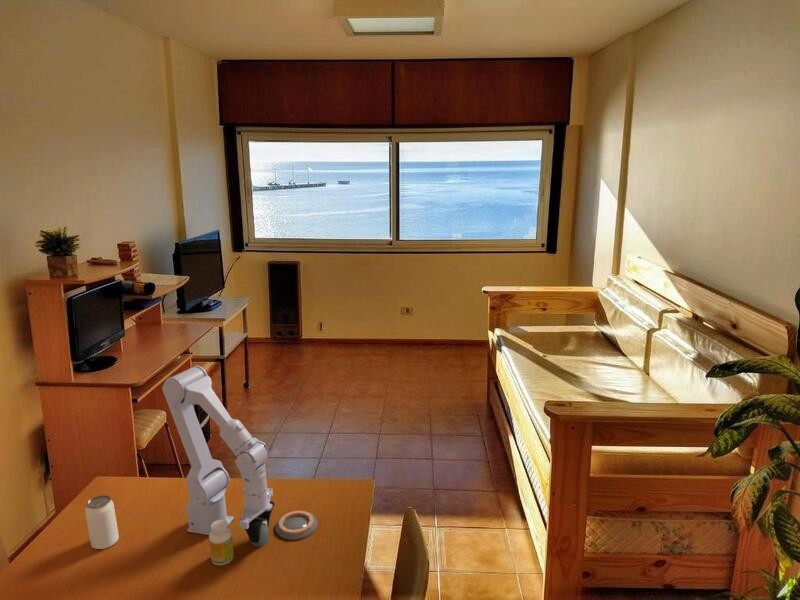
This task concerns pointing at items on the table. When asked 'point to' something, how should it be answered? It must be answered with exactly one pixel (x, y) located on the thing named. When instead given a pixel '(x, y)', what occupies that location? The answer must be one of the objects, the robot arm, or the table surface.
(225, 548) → the supplement bottle
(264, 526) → the cylinder with tan strip
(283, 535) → the socket
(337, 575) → the table surface
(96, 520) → the can
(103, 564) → the table surface
